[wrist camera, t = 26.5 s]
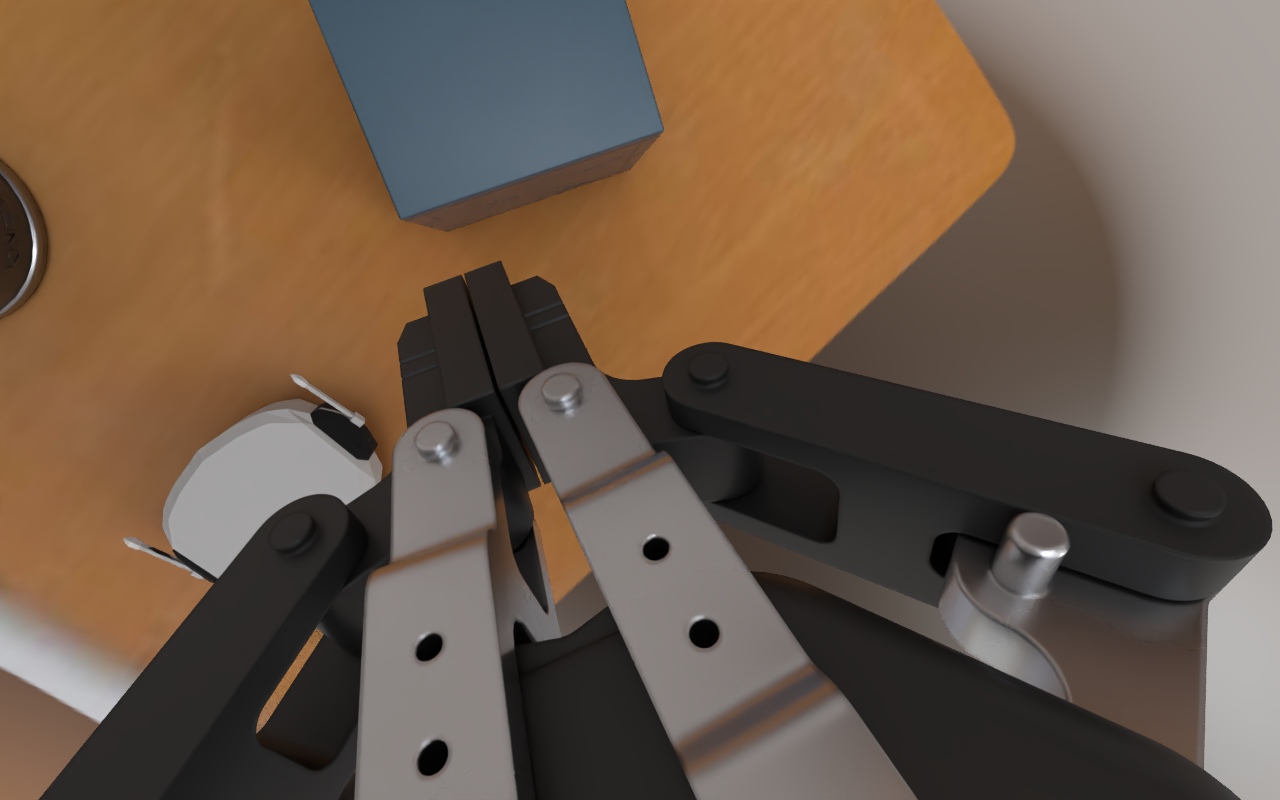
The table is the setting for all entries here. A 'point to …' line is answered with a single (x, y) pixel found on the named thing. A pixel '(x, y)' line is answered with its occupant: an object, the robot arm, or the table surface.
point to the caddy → (535, 188)
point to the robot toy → (263, 478)
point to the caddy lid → (487, 89)
